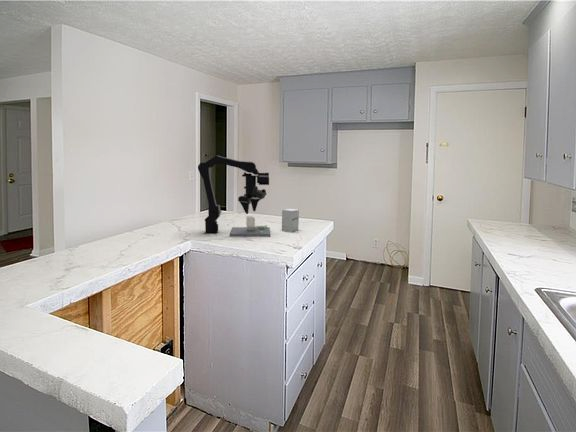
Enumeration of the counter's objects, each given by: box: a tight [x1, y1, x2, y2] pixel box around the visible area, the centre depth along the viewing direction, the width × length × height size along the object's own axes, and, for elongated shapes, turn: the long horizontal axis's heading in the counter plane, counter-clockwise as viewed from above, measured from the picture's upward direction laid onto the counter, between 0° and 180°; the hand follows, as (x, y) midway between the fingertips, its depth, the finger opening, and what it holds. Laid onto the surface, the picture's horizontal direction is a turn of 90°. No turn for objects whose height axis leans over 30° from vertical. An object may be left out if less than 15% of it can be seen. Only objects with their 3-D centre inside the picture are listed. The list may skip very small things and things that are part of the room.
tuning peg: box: [245, 215, 268, 231], centre depth 209 cm, size 12×6×8 cm, turn 114°
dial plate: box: [229, 225, 271, 238], centre depth 208 cm, size 22×17×3 cm
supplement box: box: [281, 208, 300, 233], centre depth 216 cm, size 7×7×13 cm
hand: (250, 212), depth 206 cm, fingers open, 9 cm apart
